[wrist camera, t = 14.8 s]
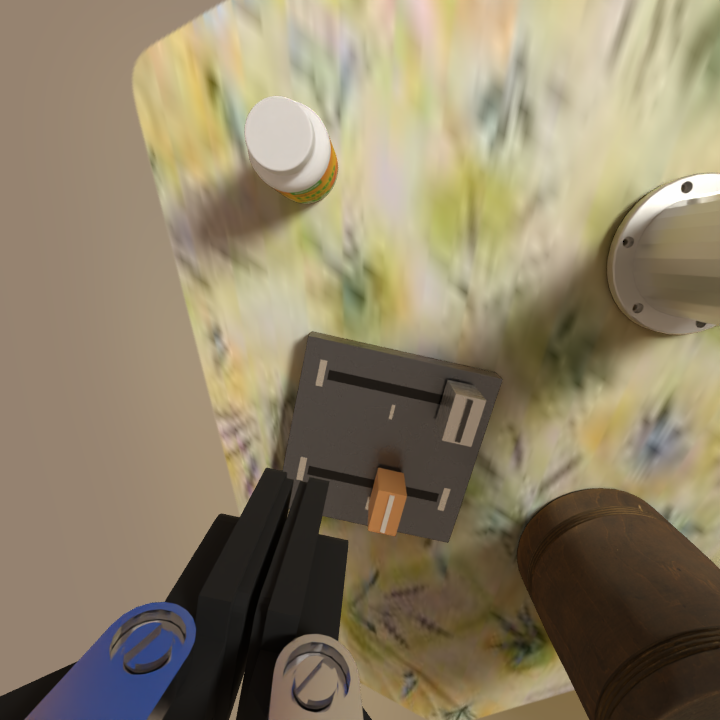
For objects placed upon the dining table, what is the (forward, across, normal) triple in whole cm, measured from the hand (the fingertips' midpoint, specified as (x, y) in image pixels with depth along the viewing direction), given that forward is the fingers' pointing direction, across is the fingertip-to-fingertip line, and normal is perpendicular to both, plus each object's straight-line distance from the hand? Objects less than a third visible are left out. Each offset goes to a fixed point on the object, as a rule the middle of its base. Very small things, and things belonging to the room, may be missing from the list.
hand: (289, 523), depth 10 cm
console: (+26, -5, +9) cm, 28 cm away
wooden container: (+27, -28, +17) cm, 43 cm away
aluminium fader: (+24, -10, +4) cm, 26 cm away
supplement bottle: (+26, +6, -12) cm, 30 cm away
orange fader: (+24, -6, +13) cm, 28 cm away
